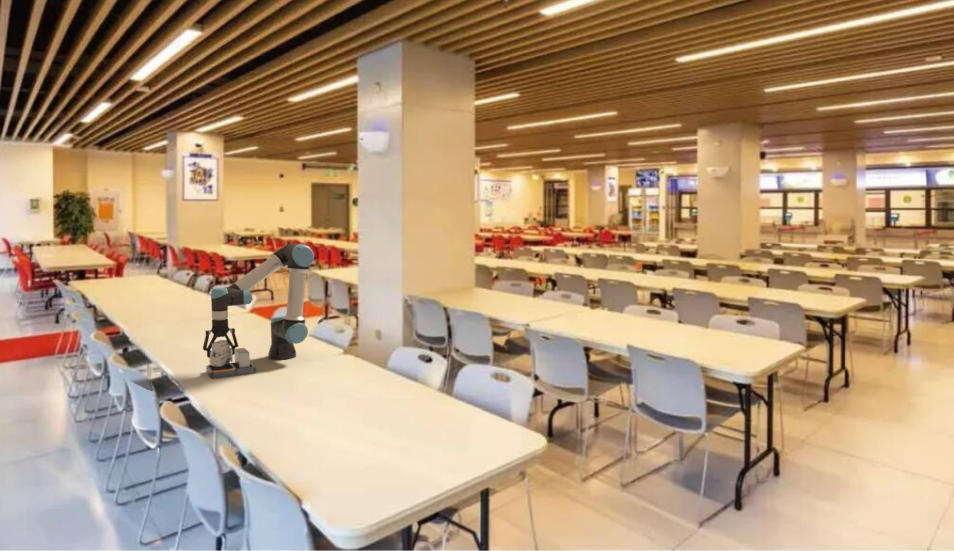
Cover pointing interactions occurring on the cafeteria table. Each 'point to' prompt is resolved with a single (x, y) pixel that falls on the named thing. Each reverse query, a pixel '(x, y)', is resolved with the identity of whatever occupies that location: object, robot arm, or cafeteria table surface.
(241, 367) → the rack
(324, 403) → the cafeteria table surface
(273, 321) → the robot arm
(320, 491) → the cafeteria table surface
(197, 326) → the cafeteria table surface
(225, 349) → the ink box
